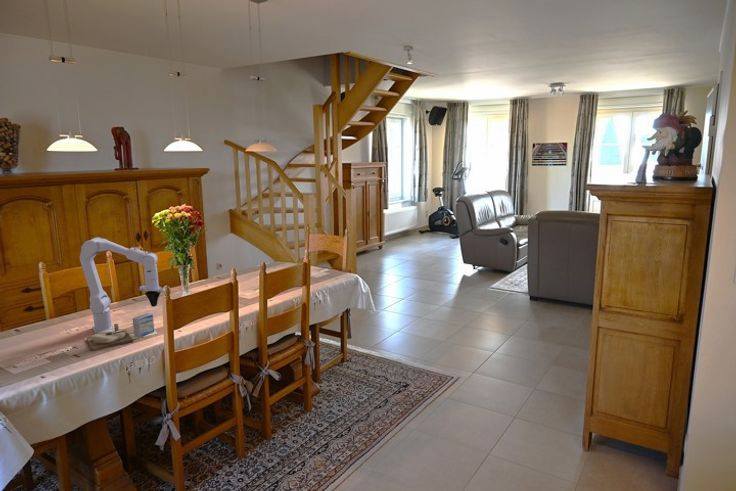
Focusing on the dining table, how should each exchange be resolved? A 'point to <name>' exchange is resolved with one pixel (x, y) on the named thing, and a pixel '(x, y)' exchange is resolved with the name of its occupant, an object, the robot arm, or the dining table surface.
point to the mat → (143, 336)
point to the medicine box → (143, 325)
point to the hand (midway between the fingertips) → (154, 306)
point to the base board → (105, 345)
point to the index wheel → (109, 335)
